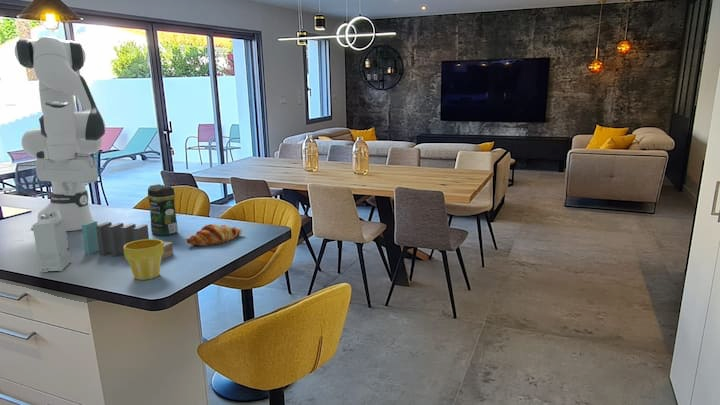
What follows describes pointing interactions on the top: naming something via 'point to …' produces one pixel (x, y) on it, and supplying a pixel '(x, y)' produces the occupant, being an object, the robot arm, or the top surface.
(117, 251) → the domino
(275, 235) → the top surface
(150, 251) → the plant pot
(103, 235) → the domino
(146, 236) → the domino
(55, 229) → the skincare box
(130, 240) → the domino
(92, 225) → the domino
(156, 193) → the coffee jar
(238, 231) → the croissant
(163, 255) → the end block
